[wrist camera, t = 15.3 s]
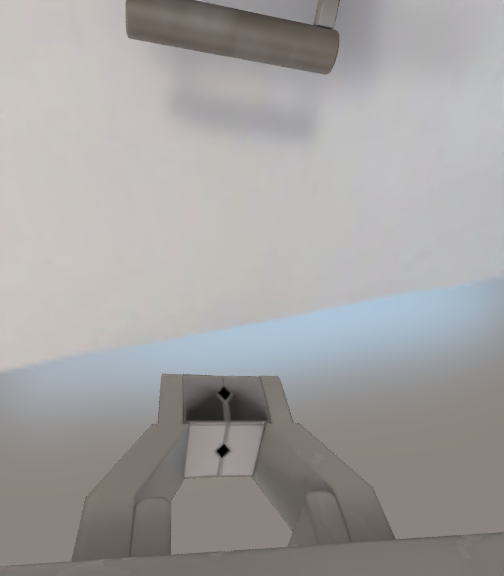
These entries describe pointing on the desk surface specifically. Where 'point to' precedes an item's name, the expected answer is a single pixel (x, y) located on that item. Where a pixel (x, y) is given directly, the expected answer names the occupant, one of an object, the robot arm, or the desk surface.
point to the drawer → (238, 32)
